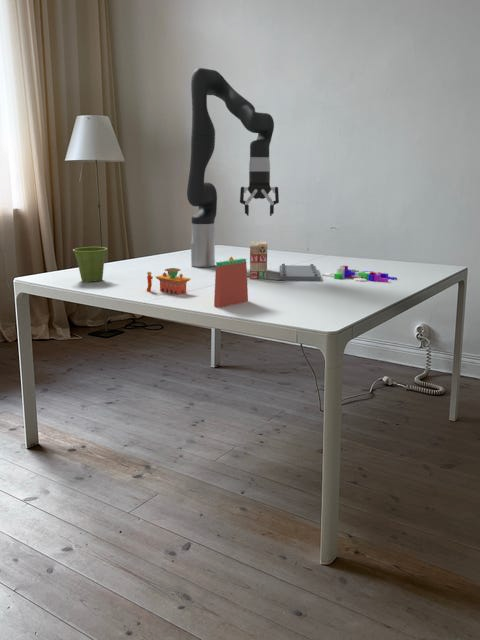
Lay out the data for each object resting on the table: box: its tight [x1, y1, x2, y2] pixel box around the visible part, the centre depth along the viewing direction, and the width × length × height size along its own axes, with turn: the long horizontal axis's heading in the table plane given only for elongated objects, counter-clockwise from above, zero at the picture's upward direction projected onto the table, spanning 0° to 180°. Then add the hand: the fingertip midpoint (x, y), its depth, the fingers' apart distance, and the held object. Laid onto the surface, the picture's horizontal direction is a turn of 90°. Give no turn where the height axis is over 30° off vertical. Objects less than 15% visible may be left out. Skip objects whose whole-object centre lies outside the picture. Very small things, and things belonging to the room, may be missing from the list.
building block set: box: [321, 265, 398, 283], centre depth 232 cm, size 25×20×4 cm
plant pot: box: [72, 246, 108, 283], centre depth 222 cm, size 12×12×11 cm
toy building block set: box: [146, 256, 249, 308], centre depth 195 cm, size 12×35×14 cm, turn 47°
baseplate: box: [279, 263, 321, 282], centre depth 236 cm, size 14×26×2 cm, turn 177°
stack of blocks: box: [249, 241, 268, 280], centre depth 236 cm, size 21×6×12 cm, turn 178°
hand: (259, 215), depth 232 cm, fingers open, 8 cm apart
